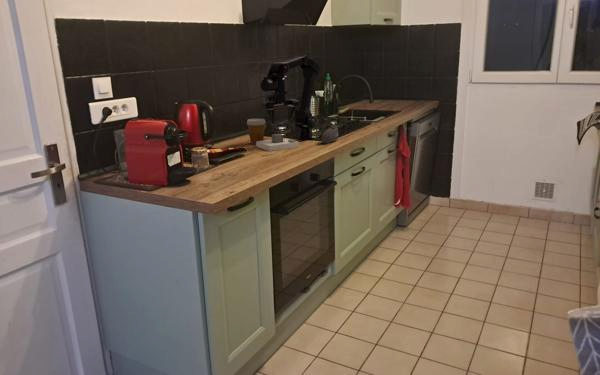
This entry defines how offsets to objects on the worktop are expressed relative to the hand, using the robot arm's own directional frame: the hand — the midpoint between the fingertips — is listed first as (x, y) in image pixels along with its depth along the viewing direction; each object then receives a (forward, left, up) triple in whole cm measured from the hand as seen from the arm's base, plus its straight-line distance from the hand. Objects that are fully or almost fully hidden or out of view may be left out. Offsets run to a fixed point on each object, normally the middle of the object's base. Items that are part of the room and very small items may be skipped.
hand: (281, 121), depth 241 cm
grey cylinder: (+4, +3, -12) cm, 13 cm away
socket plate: (+4, +3, -12) cm, 13 cm away
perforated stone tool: (-23, +8, -12) cm, 27 cm away
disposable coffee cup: (+8, -11, -12) cm, 18 cm away
